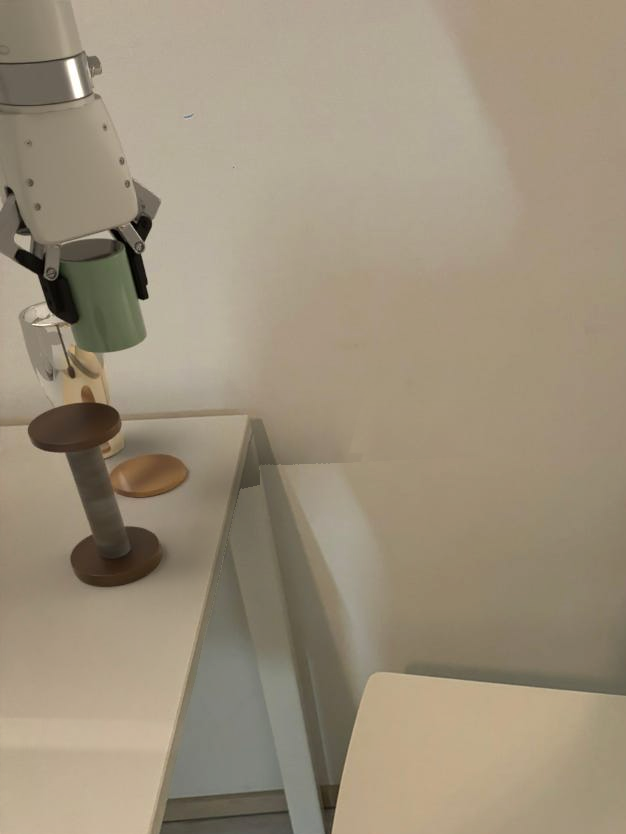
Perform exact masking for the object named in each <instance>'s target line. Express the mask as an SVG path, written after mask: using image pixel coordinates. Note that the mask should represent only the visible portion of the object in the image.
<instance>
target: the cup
mask: <svg viewBox="0 0 626 834" xmlns="http://www.w3.org/2000/svg"><path fill="white" fill-rule="evenodd" d="M59 274H60V276H62V277H64V278H66V279H67V281H68V285H69V288H70V291H71V295H72V298H73V301H74V305H75V308H76V311H77V315H78V318H79V320H78V322H77V323H75V324H72V325H71V324H70V327H71V331H72V334H73V337H74V340H75V344H76V346H77V347H78V348H79V349H81V350H84V351H87V352H93V353H104V354H107V353H114V352H115V353H116V352H121V351H125V350H129V349H131V348H133V347H135V346H138V345H140V344H141V343H142V342H144V341H145V339H146V338H147V335H148V332H147V326H146V324H145V320H144V316H143V312H142V309H141V304H140V301H139V300H140V299H138V296H137V292H136V288H135V284H134V280H133V276H132V272H131V268H130V264H129V260H128V256H127V252H126V248H125V245H124V244H123V243H122V242H120V241H117V240H114V238H106V237H105V238H102V237H95V238H84V239H76V240H71V241H68V242H64V243H61V252H60V263H59Z"/></svg>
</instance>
